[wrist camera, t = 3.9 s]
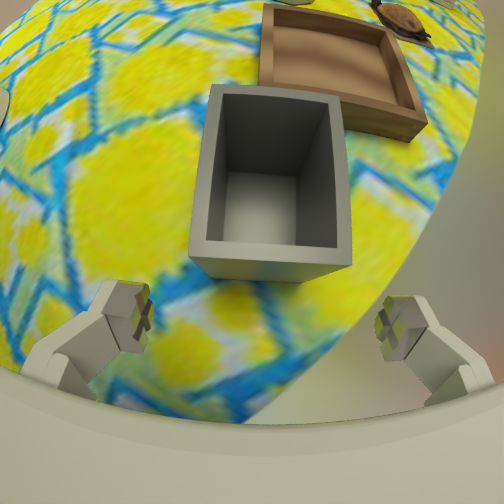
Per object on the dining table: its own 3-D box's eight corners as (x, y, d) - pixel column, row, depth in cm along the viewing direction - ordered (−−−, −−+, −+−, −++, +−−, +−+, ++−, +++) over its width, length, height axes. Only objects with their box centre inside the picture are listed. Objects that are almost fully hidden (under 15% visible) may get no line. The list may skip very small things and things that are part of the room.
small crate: (301, 282, 19) (352, 265, 10) (211, 278, 19) (187, 255, 10) (302, 173, 20) (338, 96, 12) (221, 167, 20) (211, 84, 11)
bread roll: (435, 53, 26) (446, 38, 22) (390, 40, 26) (400, 22, 22) (405, 13, 28) (412, -1, 24) (361, 2, 27) (368, -15, 24)
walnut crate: (409, 142, 22) (428, 123, 18) (255, 118, 21) (258, 90, 18) (380, 48, 24) (390, 29, 21) (261, 26, 24) (263, 3, 20)
